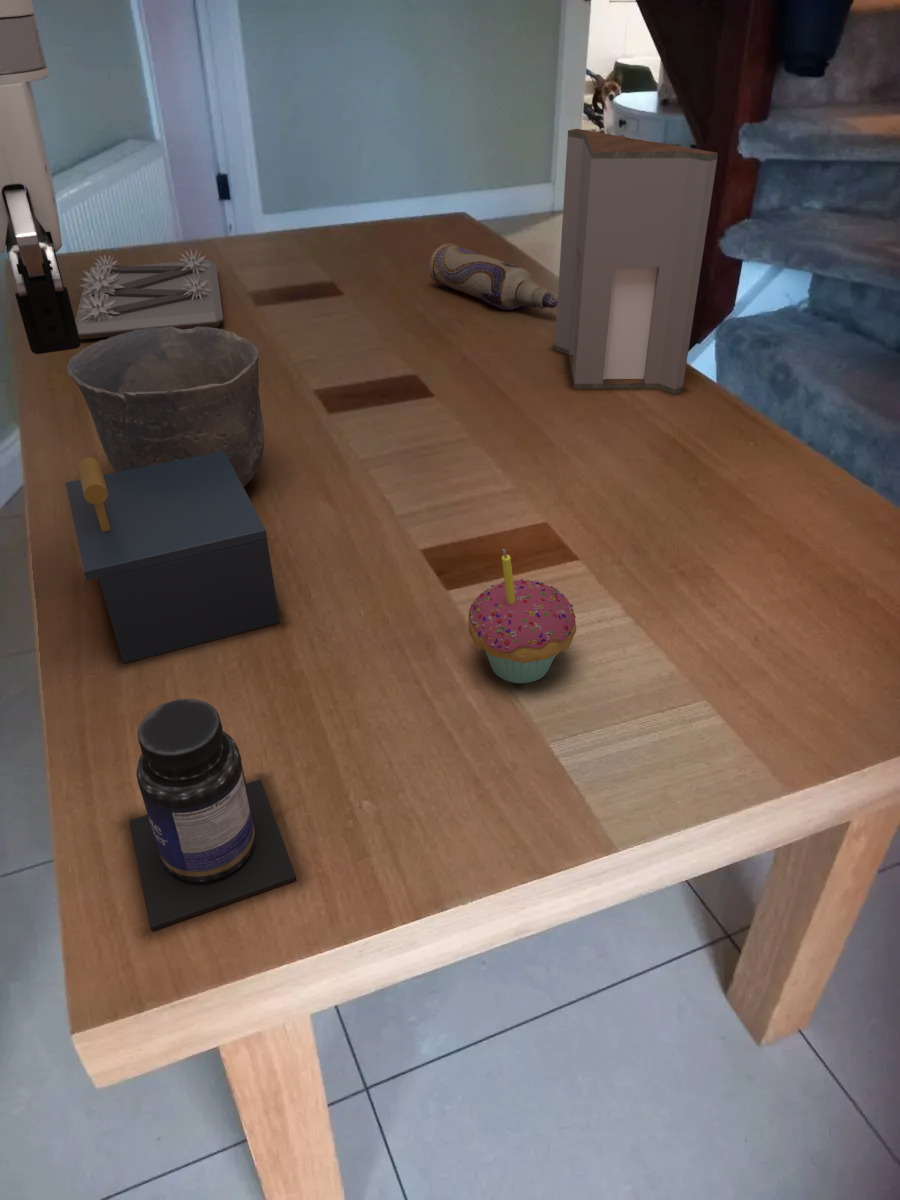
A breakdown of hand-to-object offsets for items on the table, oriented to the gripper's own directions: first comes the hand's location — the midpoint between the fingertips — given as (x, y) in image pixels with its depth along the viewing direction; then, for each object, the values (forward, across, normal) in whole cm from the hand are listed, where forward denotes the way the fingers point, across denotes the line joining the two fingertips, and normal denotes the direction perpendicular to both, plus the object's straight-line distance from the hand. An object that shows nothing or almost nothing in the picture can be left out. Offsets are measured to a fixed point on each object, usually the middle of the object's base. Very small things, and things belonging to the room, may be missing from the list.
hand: (51, 327), depth 66 cm
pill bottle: (+26, +29, +1) cm, 39 cm away
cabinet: (+25, -27, +64) cm, 74 cm away
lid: (+17, 0, +5) cm, 18 cm away
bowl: (+26, -19, +9) cm, 33 cm away
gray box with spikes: (+25, -82, +15) cm, 87 cm away
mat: (+26, +29, +1) cm, 39 cm away
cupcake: (+26, +21, +28) cm, 43 cm away
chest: (+26, 0, +5) cm, 26 cm away
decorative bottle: (+25, -60, +64) cm, 92 cm away
